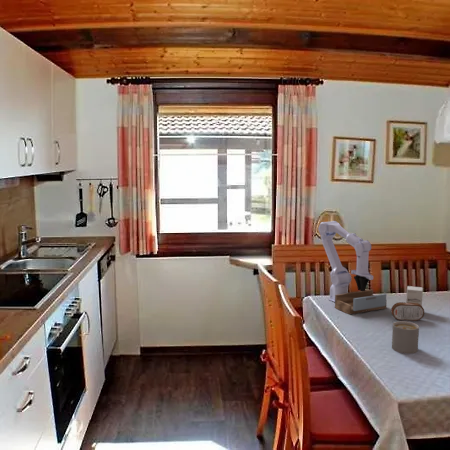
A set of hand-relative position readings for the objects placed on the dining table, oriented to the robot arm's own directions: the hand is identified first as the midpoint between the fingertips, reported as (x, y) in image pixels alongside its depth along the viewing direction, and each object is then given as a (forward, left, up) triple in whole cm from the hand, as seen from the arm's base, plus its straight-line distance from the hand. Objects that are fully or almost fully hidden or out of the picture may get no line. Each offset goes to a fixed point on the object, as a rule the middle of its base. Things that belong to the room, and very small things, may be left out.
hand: (361, 290), depth 256 cm
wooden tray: (0, 0, -9) cm, 9 cm away
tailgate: (+6, 0, -7) cm, 10 cm away
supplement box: (+17, +19, -10) cm, 27 cm away
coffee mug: (+49, -19, -10) cm, 53 cm away
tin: (+24, +8, -10) cm, 27 cm away
